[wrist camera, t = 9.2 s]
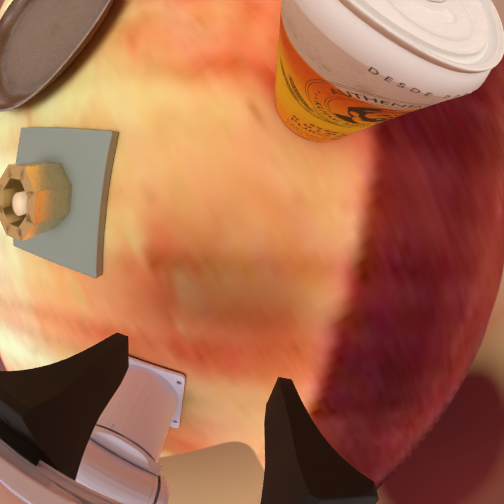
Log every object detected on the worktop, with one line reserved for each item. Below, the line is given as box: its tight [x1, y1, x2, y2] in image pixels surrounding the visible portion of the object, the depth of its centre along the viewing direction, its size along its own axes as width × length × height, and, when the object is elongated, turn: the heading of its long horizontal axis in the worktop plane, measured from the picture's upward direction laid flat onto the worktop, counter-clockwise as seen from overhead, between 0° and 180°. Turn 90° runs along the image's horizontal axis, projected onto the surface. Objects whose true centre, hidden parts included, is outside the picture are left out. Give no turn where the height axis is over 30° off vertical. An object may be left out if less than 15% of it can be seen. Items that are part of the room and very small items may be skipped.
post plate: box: [12, 128, 119, 278], centre depth 17 cm, size 12×12×5 cm
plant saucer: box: [0, 0, 114, 112], centre depth 13 cm, size 21×21×3 cm
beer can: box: [274, 0, 504, 142], centre depth 10 cm, size 6×6×15 cm
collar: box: [0, 161, 72, 241], centre depth 16 cm, size 6×6×4 cm
